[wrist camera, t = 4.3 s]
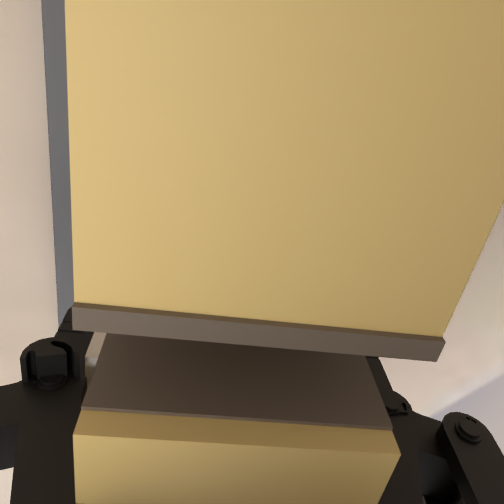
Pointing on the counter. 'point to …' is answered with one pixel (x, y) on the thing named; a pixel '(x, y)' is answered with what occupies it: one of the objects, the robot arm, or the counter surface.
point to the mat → (59, 148)
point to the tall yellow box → (283, 168)
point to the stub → (230, 426)
